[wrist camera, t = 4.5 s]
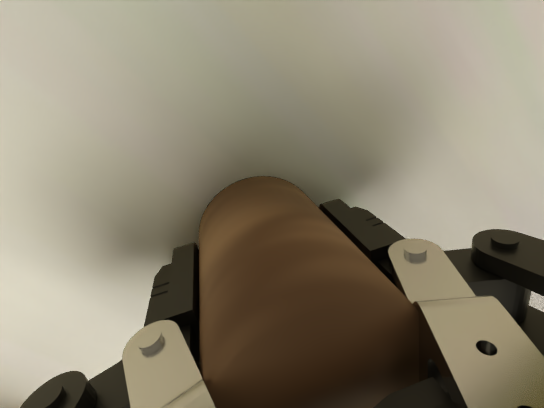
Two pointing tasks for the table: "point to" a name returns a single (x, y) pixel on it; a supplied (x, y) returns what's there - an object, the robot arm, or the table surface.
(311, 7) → the table surface
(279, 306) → the walnut cylinder
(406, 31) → the table surface
